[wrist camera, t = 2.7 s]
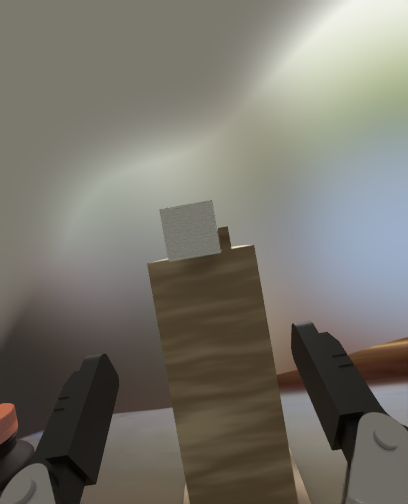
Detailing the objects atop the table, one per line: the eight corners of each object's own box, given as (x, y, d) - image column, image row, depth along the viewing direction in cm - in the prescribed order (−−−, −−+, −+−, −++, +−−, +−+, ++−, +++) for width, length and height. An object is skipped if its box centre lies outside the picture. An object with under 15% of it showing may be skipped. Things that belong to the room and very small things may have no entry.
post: (322, 542, 27) (266, 218, 26) (182, 560, 27) (125, 243, 27) (279, 427, 44) (245, 229, 43) (193, 440, 44) (159, 244, 44)
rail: (221, 252, 19) (211, 200, 19) (168, 261, 19) (159, 209, 19) (215, 249, 45) (211, 227, 45) (193, 253, 45) (189, 231, 45)
